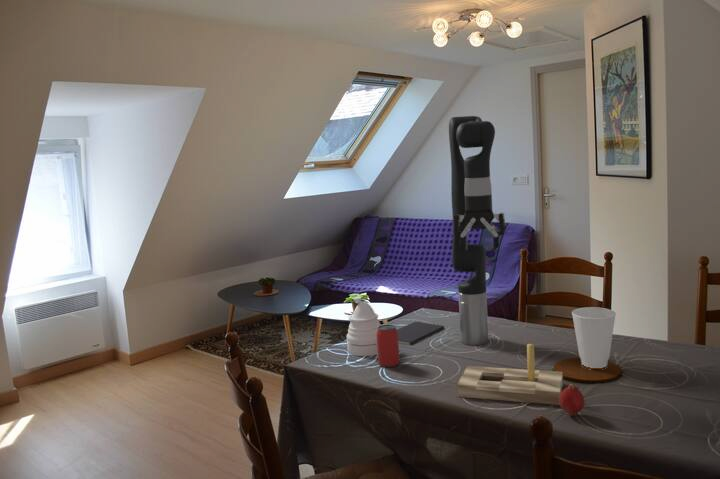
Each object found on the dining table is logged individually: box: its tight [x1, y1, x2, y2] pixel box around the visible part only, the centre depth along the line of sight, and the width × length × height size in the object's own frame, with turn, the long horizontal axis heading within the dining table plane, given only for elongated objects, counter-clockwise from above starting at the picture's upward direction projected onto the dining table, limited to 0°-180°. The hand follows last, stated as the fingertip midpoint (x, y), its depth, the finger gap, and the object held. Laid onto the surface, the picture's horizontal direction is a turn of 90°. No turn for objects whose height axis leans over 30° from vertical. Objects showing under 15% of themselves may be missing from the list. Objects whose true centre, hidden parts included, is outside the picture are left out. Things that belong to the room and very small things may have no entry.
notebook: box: [396, 321, 445, 346], centre depth 221 cm, size 13×2×21 cm
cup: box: [571, 306, 616, 368], centre depth 178 cm, size 12×12×16 cm
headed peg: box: [526, 343, 536, 382], centre depth 163 cm, size 4×4×13 cm
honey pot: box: [346, 296, 382, 357], centre depth 206 cm, size 13×13×18 cm
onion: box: [559, 383, 585, 417], centre depth 148 cm, size 6×6×8 cm
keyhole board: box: [456, 365, 564, 406], centre depth 165 cm, size 14×26×3 cm, turn 69°
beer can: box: [377, 324, 400, 368], centre depth 191 cm, size 7×7×12 cm
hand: (480, 249), depth 176 cm, fingers open, 8 cm apart
